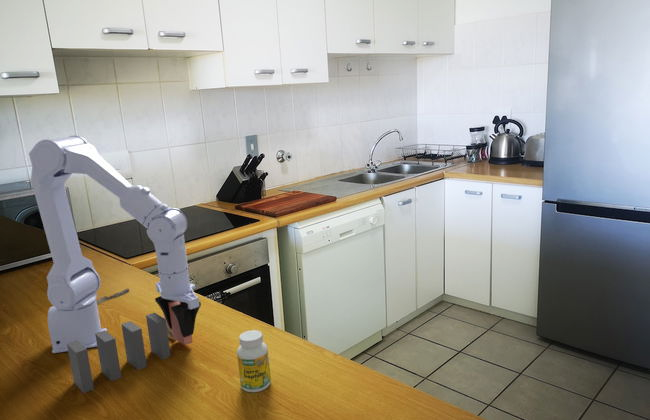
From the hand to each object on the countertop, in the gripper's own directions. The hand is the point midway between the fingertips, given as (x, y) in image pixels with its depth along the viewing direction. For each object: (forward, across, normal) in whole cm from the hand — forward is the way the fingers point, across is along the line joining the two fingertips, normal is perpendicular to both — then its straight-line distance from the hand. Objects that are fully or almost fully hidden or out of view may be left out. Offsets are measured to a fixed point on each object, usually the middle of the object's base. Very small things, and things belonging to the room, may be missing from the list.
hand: (181, 331), depth 103 cm
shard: (+4, +8, -3) cm, 10 cm away
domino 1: (+3, 0, +20) cm, 20 cm away
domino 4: (+3, 0, +5) cm, 6 cm away
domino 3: (+3, 0, +10) cm, 10 cm away
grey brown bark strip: (+4, +38, +1) cm, 39 cm away
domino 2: (+3, 0, +15) cm, 15 cm away
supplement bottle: (+3, -24, -1) cm, 24 cm away
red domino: (+2, 0, 0) cm, 2 cm away
